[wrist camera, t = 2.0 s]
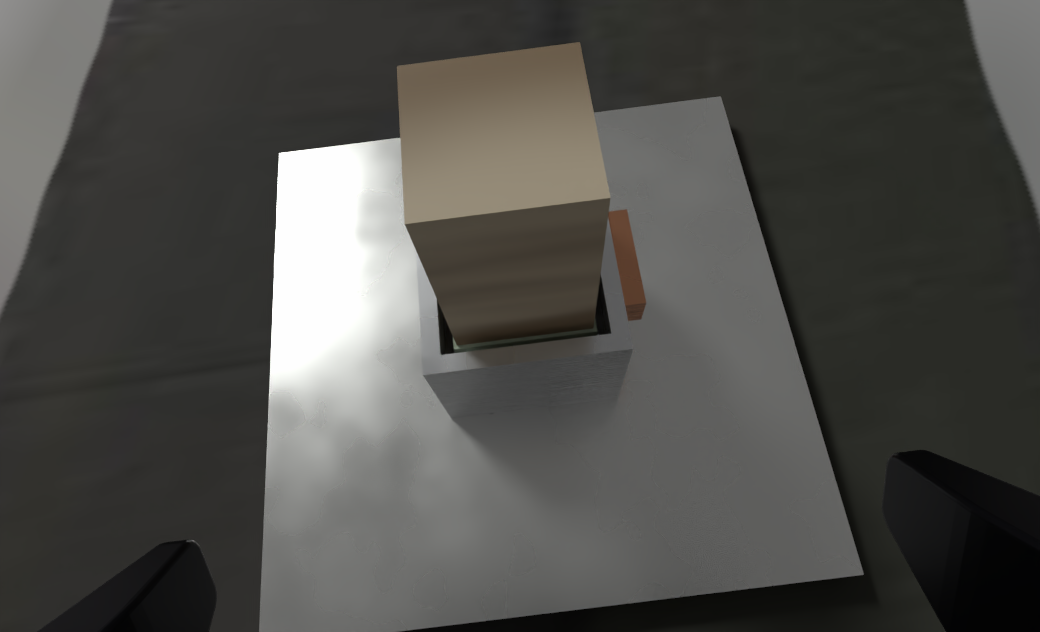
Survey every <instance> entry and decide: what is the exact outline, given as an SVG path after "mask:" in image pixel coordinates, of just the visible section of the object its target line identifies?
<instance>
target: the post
mask: <svg viewBox="0 0 1040 632" xmlns="http://www.w3.org/2000/svg"><path fill="white" fill-rule="evenodd" d="M397 78H398V99H399V119H400V140H401V160H402V181H403V201H404V222H405V226H406V229H407V231H408V233H409V235H410V238H411V240H412V242H413V245H414V247H415V249H416V252H417V254H418V256H419V259H420V261H421V263H422V266H423V268H424V270H425V273H426V275H427V277H428V280H429V282H430V284H431V287H432V289H433V291H434V294H435V296H436V298H437V300H438V303H439V305H440V307H441V310H442V312H443V314H444V317H445V319H446V321H447V324H448V326H449V328H450V331H451V333H452V335H453V348H454V351H455V353H461V352H469V351H477V350H485V349H493V348H501V347H509V346H517V345H525V344H532V343H540V342H548V341H556V340H564V339H572V338H580V337H588V336H596V335H597V326H596V320H595V312H596V305H597V297H598V289H599V282H600V274H601V267H602V259H603V251H604V244H605V236H606V229H607V221H608V213H609V206H610V192H609V187H608V182H607V177H606V172H605V167H604V162H603V157H602V152H601V147H600V142H599V137H598V132H597V127H596V122H595V117H594V112H593V107H592V102H591V97H590V92H589V87H588V81H587V76H586V71H585V66H584V61H583V56H582V51H581V46H580V42H578V43H571V44H563V45H555V46H548V47H540V48H532V49H525V50H517V51H509V52H501V53H494V54H486V55H478V56H471V57H463V58H455V59H448V60H440V61H432V62H425V63H417V64H409V65H401V66H397Z"/></svg>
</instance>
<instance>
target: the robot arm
mask: <svg viewBox="0 0 1040 632" xmlns="http://www.w3.org/2000/svg"><path fill="white" fill-rule="evenodd" d="M882 511H883V516H884V519H885V522H886V524H887V526H888V528H889V530H890V532H891V534H892V535H893V537H894V539H895V541H896V543H897V544H898V546H899V548H900V550H901V552H902V554H903V555H904V557H905V559H906V561H907V563H908V564H909V566H910V568H911V570H912V572H913V573H914V575H915V577H916V579H917V581H918V583H919V584H920V586H921V588H922V590H923V592H924V593H925V595H926V597H927V599H928V601H929V603H930V604H931V606H932V608H933V610H934V612H935V613H936V615H937V617H938V619H939V620H940V622H941V624H942V625H943V627H944V629H945V631H946V632H1040V496H1039V495H1037V494H1034V493H1032V492H1029V491H1027V490H1024V489H1022V488H1019V487H1017V486H1014V485H1012V484H1009V483H1007V482H1004V481H1002V480H999V479H997V478H994V477H992V476H989V475H987V474H984V473H982V472H979V471H977V470H974V469H972V468H969V467H967V466H964V465H962V464H959V463H957V462H954V461H952V460H949V459H947V458H944V457H942V456H939V455H937V454H934V453H932V452H929V451H926V450H915V451H907V452H899V453H894V454H893V455H891V456H890V457H889V459H888V461H887V466H886V474H885V483H884V491H883V500H882ZM216 601H217V591H216V586H215V583H214V580H213V578H212V575H211V573H210V570H209V568H208V565H207V563H206V560H205V558H204V555H203V553H202V550H201V548H200V546H199V544H198V543H197V542H195V541H193V540H181V541H173V542H166V543H162V544H159V545H158V546H156V547H155V548H153V549H152V550H151V551H149V552H148V553H146V554H145V555H144V556H142V557H141V558H139V559H138V560H137V561H135V562H134V563H132V564H131V565H130V566H128V567H127V568H125V569H124V570H123V571H121V572H120V573H118V574H117V575H116V576H114V577H113V578H111V579H110V580H109V581H107V582H106V583H104V584H103V585H102V586H100V587H99V588H97V589H96V590H94V591H93V592H92V593H90V594H89V595H87V596H86V597H85V598H83V599H82V600H80V601H79V602H78V603H76V604H75V605H73V606H72V607H71V608H69V609H68V610H66V611H65V612H64V613H62V614H61V615H59V616H58V617H57V618H55V619H54V620H52V621H51V622H50V623H48V624H47V625H45V626H44V627H43V628H41V629H40V630H38V631H37V632H209V630H210V626H211V622H212V619H213V615H214V611H215V607H216Z"/></svg>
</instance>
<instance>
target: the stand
mask: <svg viewBox="0 0 1040 632" xmlns="http://www.w3.org/2000/svg"><path fill="white" fill-rule="evenodd" d="M594 117H595V122H596V127H597V132H598V137H599V142H600V147H601V152H602V157H603V162H604V167H605V172H606V177H607V182H608V187H609V192H610V206H609V213H608V221H607V229H606V236H605V244H604V251H603V259H602V267H601V274H600V282H599V289H598V297H597V305H596V312H595V320H596V326H597V335H596V336H588V337H580V338H572V339H564V340H556V341H548V342H540V343H532V344H525V345H517V346H509V347H501V348H493V349H485V350H477V351H469V352H461V353H455V351H454V348H453V335H452V333H451V331H450V328H449V326H448V324H447V321H446V319H445V317H444V314H443V312H442V310H441V307H440V305H439V303H438V300H437V298H436V296H435V294H434V291H433V289H432V287H431V284H430V282H429V280H428V277H427V275H426V273H425V270H424V268H423V266H422V263H421V261H420V259H419V256H418V254H417V252H416V249H415V247H414V245H413V242H412V240H411V238H410V235H409V233H408V231H407V229H406V226H405V222H404V201H403V181H402V160H401V140H400V138H395V139H387V140H379V141H371V142H364V143H356V144H348V145H340V146H333V147H325V148H317V149H309V150H302V151H294V152H286V153H279V174H278V197H277V221H276V245H275V269H274V293H273V316H272V340H271V364H270V388H269V412H268V435H267V459H266V483H265V507H264V531H263V555H262V578H261V602H260V626H259V632H399V631H407V630H416V629H424V628H432V627H440V626H448V625H456V624H465V623H473V622H481V621H489V620H497V619H506V618H514V617H522V616H530V615H538V614H547V613H555V612H563V611H571V610H579V609H588V608H596V607H604V606H612V605H620V604H628V603H637V602H645V601H653V600H661V599H669V598H678V597H686V596H694V595H702V594H710V593H719V592H727V591H735V590H743V589H751V588H760V587H768V586H776V585H784V584H792V583H801V582H809V581H817V580H825V579H833V578H841V577H850V576H858V575H864V573H863V570H862V566H861V563H860V560H859V556H858V553H857V550H856V546H855V543H854V540H853V536H852V533H851V530H850V526H849V523H848V520H847V516H846V513H845V510H844V506H843V503H842V500H841V496H840V493H839V490H838V486H837V483H836V480H835V476H834V473H833V469H832V466H831V463H830V459H829V456H828V453H827V449H826V446H825V443H824V439H823V436H822V433H821V429H820V426H819V423H818V419H817V416H816V413H815V409H814V406H813V403H812V399H811V396H810V393H809V389H808V386H807V383H806V379H805V376H804V373H803V369H802V366H801V363H800V359H799V356H798V353H797V349H796V346H795V343H794V339H793V336H792V333H791V329H790V326H789V323H788V319H787V316H786V313H785V309H784V306H783V303H782V299H781V296H780V293H779V289H778V286H777V283H776V279H775V276H774V273H773V269H772V266H771V263H770V259H769V256H768V253H767V249H766V246H765V243H764V239H763V236H762V233H761V229H760V226H759V222H758V219H757V216H756V212H755V209H754V206H753V202H752V199H751V196H750V192H749V189H748V186H747V182H746V179H745V176H744V172H743V169H742V166H741V162H740V159H739V156H738V152H737V149H736V146H735V142H734V139H733V136H732V132H731V129H730V126H729V122H728V119H727V116H726V112H725V109H724V106H723V102H722V99H721V96H720V97H712V98H705V99H697V100H689V101H681V102H674V103H666V104H658V105H650V106H643V107H635V108H627V109H619V110H612V111H604V112H596V113H594Z"/></svg>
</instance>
